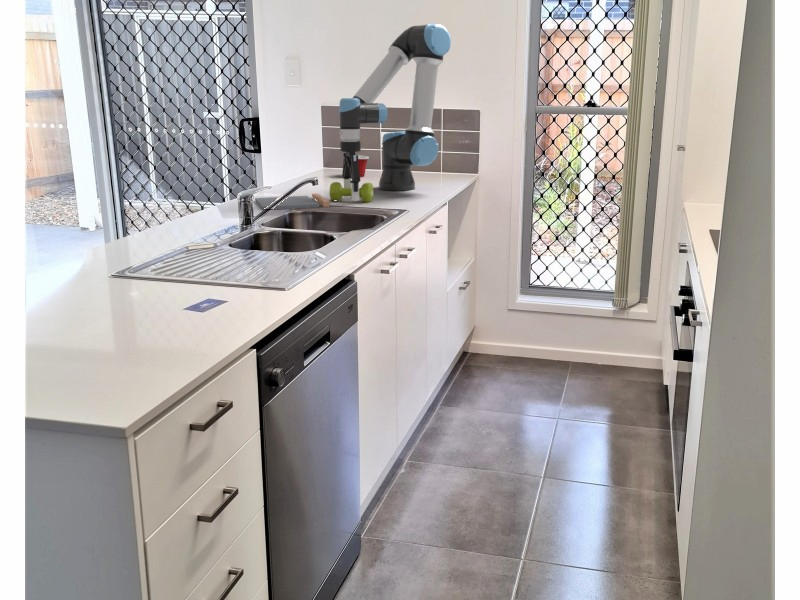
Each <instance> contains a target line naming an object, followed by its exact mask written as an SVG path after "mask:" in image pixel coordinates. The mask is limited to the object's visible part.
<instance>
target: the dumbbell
mask: <svg viewBox="0 0 800 600" xmlns="http://www.w3.org/2000/svg"><path fill="white" fill-rule="evenodd" d="M374 192H375V191H374V186H373V184H372V182H364V183H362V185H361V187H359V198H361V200H362V202H364V203H371V202H372V201H373V199H374ZM328 194H329V197H330V201H331V200H340V199H341V200H342V199H343V198H342V197H352V192H351V188H344V186H342V183H341V182H340V181H334V182H331V183H330V186H329V193H328ZM341 200H340V201H341Z"/></svg>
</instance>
